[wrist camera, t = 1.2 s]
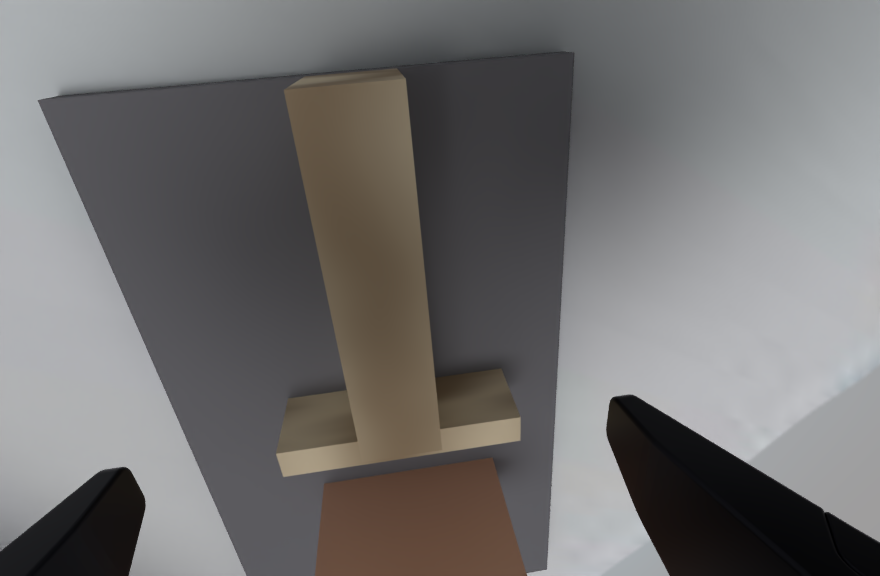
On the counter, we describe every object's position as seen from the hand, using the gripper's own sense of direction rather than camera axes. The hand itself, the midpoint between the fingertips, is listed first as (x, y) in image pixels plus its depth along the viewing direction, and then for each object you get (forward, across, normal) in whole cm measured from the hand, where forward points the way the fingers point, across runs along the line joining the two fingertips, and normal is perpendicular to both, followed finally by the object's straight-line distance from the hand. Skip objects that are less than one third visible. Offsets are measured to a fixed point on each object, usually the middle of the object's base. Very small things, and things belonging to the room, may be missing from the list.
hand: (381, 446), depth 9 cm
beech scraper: (+10, 0, 0) cm, 10 cm away
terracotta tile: (+9, 0, +12) cm, 15 cm away
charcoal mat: (+10, +1, +8) cm, 13 cm away
